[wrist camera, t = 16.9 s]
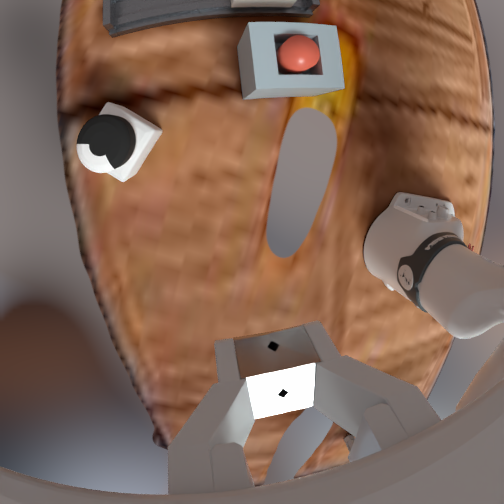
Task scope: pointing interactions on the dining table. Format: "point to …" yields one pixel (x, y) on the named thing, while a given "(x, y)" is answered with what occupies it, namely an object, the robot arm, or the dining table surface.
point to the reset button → (297, 55)
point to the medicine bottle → (116, 142)
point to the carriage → (262, 3)
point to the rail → (185, 12)
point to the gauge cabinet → (265, 62)
